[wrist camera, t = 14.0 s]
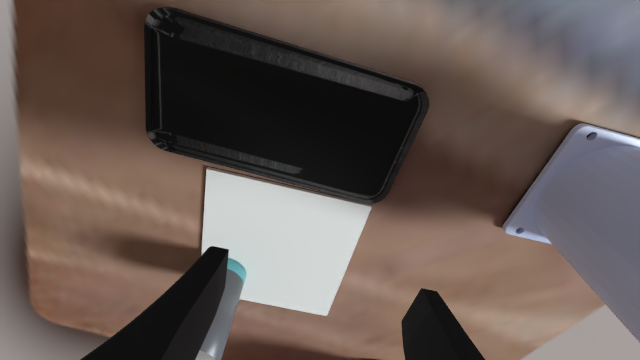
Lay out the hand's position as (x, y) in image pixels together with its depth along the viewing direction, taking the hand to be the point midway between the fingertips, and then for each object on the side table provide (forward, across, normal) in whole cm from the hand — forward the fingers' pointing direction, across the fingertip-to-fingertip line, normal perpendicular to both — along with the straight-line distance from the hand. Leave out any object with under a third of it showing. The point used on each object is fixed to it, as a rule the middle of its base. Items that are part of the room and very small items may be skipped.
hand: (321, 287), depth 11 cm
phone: (+10, +3, -3) cm, 11 cm away
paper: (+9, +2, +8) cm, 12 cm away
